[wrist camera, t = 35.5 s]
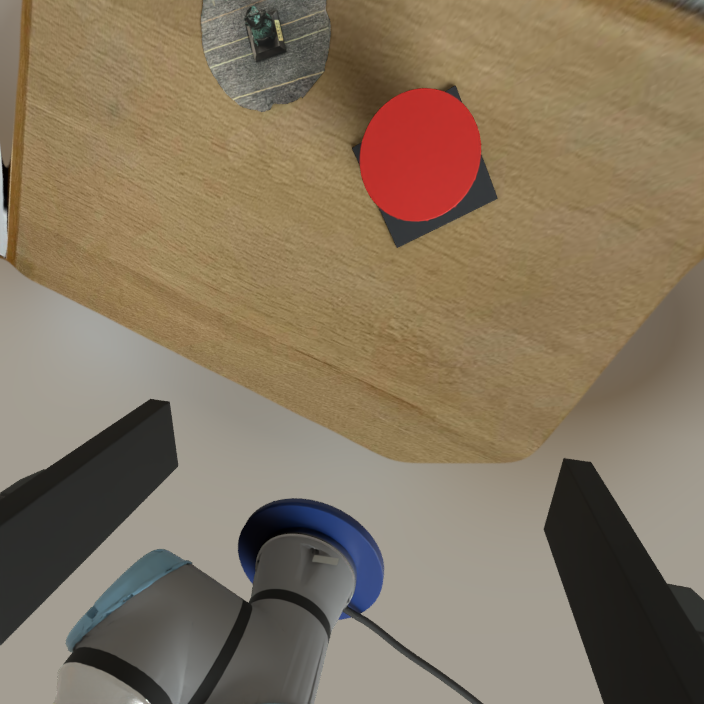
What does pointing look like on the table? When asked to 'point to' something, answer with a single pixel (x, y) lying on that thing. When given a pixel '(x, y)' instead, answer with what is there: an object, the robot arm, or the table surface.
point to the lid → (420, 154)
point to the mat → (474, 199)
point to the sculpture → (265, 48)
